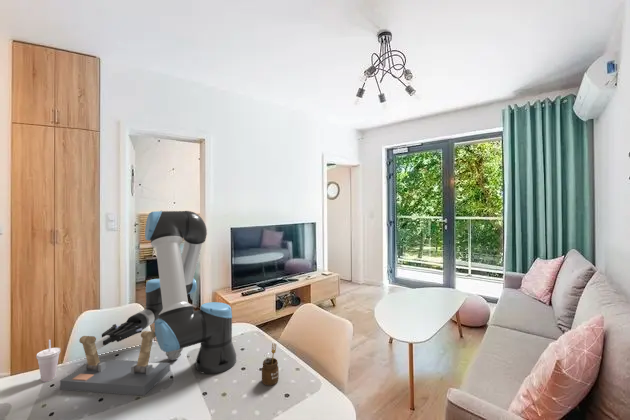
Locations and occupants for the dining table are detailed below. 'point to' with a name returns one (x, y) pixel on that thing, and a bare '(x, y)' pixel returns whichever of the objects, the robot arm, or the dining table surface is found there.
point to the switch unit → (116, 377)
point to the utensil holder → (270, 369)
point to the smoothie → (48, 363)
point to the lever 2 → (144, 351)
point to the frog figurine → (174, 354)
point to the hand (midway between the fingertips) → (93, 347)
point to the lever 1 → (90, 351)
